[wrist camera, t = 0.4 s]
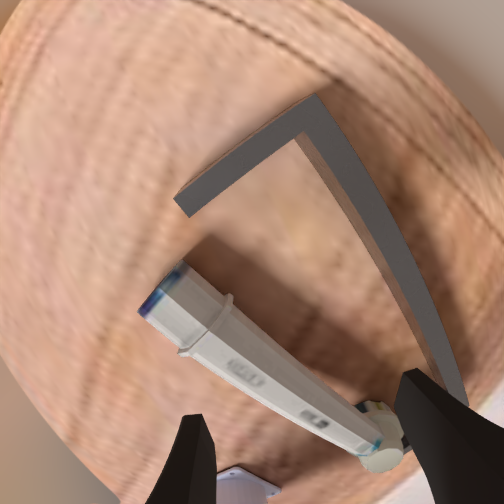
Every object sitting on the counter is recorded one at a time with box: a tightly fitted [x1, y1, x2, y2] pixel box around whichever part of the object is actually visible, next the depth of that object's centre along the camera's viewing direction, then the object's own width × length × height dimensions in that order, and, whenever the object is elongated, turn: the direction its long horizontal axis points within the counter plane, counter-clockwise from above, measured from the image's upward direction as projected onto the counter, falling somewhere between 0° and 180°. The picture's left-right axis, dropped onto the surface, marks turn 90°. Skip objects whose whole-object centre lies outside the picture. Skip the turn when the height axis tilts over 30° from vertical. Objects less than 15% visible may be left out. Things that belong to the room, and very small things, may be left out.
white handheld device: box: [137, 259, 404, 473], centre depth 21 cm, size 5×7×25 cm
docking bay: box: [173, 93, 470, 455], centre depth 21 cm, size 8×31×3 cm, turn 37°
